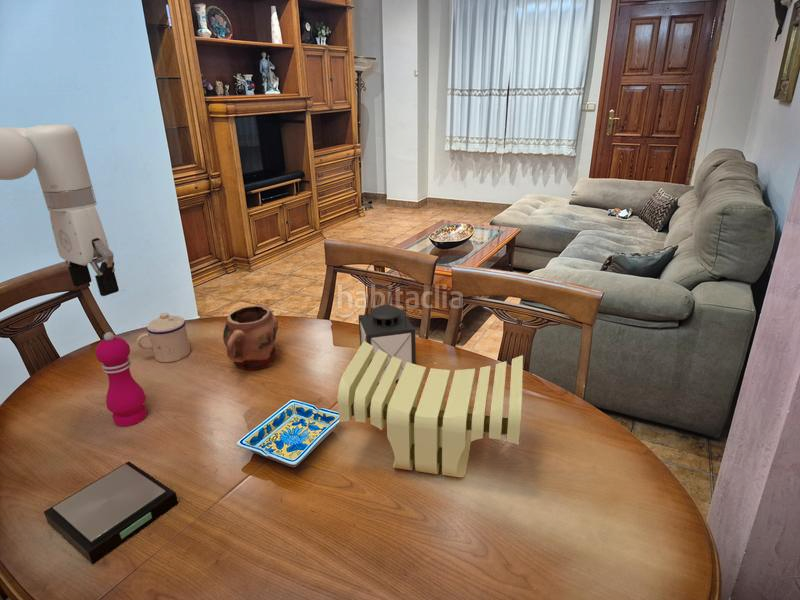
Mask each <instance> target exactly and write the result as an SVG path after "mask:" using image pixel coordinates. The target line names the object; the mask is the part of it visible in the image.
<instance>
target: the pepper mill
mask: <svg viewBox="0 0 800 600" xmlns="http://www.w3.org/2000/svg"><path fill="white" fill-rule="evenodd" d="M130 354H131V347H130V345H129V342H127V341H126V339H123V338H121V337H115V334H114V333H113V332H111V331H108V332H105V333H104V334H103V340H102V341H100V342H99V343H98V344H97V346H96V347H95V357H96V359H97V360H98V362H100V363H101V368H102V371H103V372H104V373H105V374H106V375H107V378H108V388H107V393H106V396H105V403H106V408H107V410H108V411H109V412H110V413H112V420H113V423H114V424H115V426H118V427H130V426H134V425H137V424H138V423H140V422H142V421H143V420H145V418H146V417H147V415H148V411H147V407H146V405H145V403H146V397H147V396H146V394H145V391H144V389H143V387H141V386H142V385H140V384H139V383H138V382H137V381H136V380H135V379H134V378H133V376H132V373H131V368H130V367H131V365H132V362H131V358H130V357H129V356H130Z"/></svg>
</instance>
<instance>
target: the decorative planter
mask: <svg viewBox="0 0 800 600" xmlns="http://www.w3.org/2000/svg"><path fill="white" fill-rule="evenodd" d="M225 322H226V323H225V326H224V328H223V332H222V333H223V334H222V335H223V336H222V338H223V343H224V345H225V347H226V355H227V357H228V358H229V359H230V360H231V361H232V362H233V363H234V365H235V366H236V367H237V368H238V369H241V370H245V371H256V370H262V369H265V368H267V367H268V366H270V365H272V364H273V362H274V361H275V359H276V358H277V352H276V345H275V342H276V339H277V333H278V331H279V320H278V318H277V317H276V316H275V315H274V314H273V312H272V311H271V309H270V307H269V306H268V305H265V304H254V305H250V306H249V305H247V306H243V307H239V309H236V310H235V311H233V312H231V313H230V314H229V315H228V316H227V318H226V321H225Z"/></svg>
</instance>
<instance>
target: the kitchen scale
mask: <svg viewBox="0 0 800 600" xmlns="http://www.w3.org/2000/svg"><path fill="white" fill-rule="evenodd" d="M178 504H179V501H178V497H177V493H176V491H174V490H173V489H171V488H169V487H168V486H167V485H166V484H164V483H163V482H161V481H159V480H158V479H156V478H155V477H154V476H152V475H150V474H149V473H147V472H146V471H144V470H143V469H141V468H140V467H138V466H137V465H136V464H134V463H132V462H131V461H127V462H125V463H123V464H121V465H120V466H118V467H116V468H115V469H113V470H111V471H110V472H108V473H107V474H105V475H103V476H101V477H100V478H98V479H96V480H95V481H93V482H91V483H90V484H88V485H86V486H84V487H82V488H81V489H79V490H78V491H76V492H74V493H73V494H70V495H69V496H68V497H66V498H64V499H62V500H61V501H59V502H57V503H56V504H53V506H50V507H49V508H47V509H46V510H44V511H43V515H44V517H45V519H46V522H47V524H48V525H49V526H51V528H53V529H54V531H56V533H58V534H59V535H60V536H61V537H62V538H64V540H66V541H67V543H69V544H70V545H71V546H72V547H73V548H74V549H75V550H77V552H78V553H80V555H82V556H83V557H84V558H85V559H86V560H87V561H89V563H90V564H91V565H94V564H95V563H97V562H98V561H100V560H101V559H102V558H104V557H105V556H107V555H108V554H109V553H111V552H112V551H113V550H115V549H116V548H118V547H119V546H121V545H122V544H124V543H125V542H127V540H129V539H130V538H132V537H133V536H135V535H136V534H137V533H139V532H140V531H142V530H143V529H145V528H146V527H147V526H149V525H150V524H152V523H153V522H155V521H156V520H157V519H158V518H160V517H161V516H163V515H164V514H165V513H167V512H169V511H170V510H172V509H173V508H174V507H176V506H177V505H178Z"/></svg>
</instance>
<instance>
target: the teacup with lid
mask: <svg viewBox="0 0 800 600" xmlns="http://www.w3.org/2000/svg"><path fill="white" fill-rule="evenodd" d="M186 324H187V323H186V320H185V318H184V317H182V316H180V315H169V313H168V312H162V313H160V314H159V317H157V318H156V319H153V320H151V321H150V322H149V323H148V324H147V326H146V331H147V332H146V333H141V334H140V335H139V336H138V337H137V338H136V345H137V347H138V349H140V350H141V351H142V352H145V353H151V352H153V357H154V359H155V361H157V362H159V363H173V362H177V361H181V360H183V359H185V358H186V357H188V356H189V355H190V353H191V346H190V341H189V337H188V332H187V327H186ZM148 337H149V339H150V344H151V347H144V346H143V345H142V344H141V340H142V339H144V338H148Z"/></svg>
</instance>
